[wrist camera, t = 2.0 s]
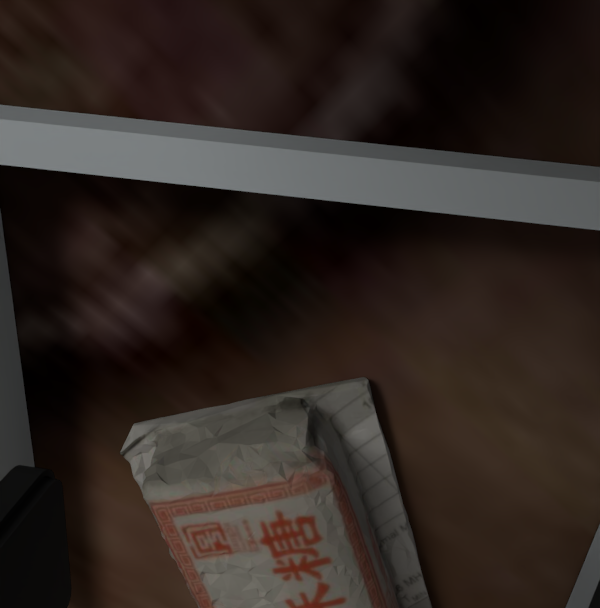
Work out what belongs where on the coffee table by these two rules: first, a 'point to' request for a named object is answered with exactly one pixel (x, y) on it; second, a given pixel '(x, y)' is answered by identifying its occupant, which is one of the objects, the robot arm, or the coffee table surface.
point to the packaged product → (281, 502)
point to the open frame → (287, 182)
